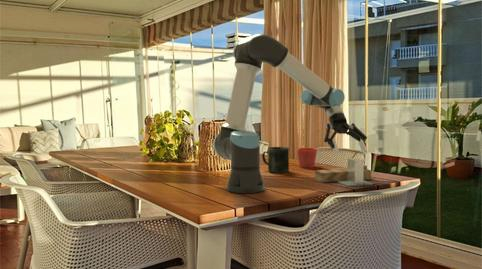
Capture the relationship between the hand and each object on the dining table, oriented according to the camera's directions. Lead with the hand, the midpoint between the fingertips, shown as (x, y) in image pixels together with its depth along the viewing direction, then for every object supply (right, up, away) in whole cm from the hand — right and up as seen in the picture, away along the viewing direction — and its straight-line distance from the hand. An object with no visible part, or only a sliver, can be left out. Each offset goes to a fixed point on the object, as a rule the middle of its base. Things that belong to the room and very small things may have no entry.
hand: (351, 153), depth 179 cm
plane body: (-2, -12, +7) cm, 14 cm away
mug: (-31, -11, +30) cm, 44 cm away
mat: (+1, -13, -4) cm, 13 cm away
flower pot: (-13, -9, +44) cm, 46 cm away
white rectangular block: (+1, -12, -4) cm, 13 cm away
